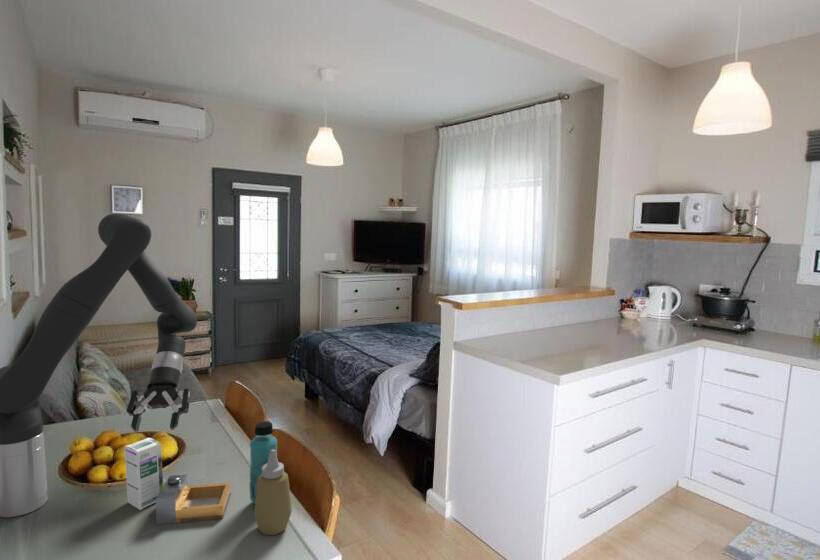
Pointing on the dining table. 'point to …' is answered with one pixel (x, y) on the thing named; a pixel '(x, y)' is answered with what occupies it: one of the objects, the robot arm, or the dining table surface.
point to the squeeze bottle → (272, 497)
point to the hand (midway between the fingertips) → (153, 429)
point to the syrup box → (143, 472)
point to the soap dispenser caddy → (191, 501)
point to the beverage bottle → (260, 453)
